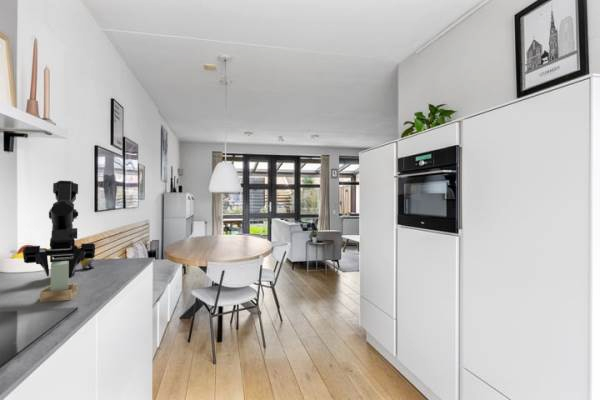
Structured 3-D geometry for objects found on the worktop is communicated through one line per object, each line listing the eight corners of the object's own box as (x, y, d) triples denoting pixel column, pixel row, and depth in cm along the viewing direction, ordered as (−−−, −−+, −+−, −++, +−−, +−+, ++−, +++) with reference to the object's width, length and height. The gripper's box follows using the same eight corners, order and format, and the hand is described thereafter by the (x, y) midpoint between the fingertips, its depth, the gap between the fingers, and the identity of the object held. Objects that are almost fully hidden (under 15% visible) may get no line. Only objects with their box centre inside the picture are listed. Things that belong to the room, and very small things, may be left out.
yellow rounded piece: (89, 271, 137) (70, 255, 135) (88, 274, 141) (69, 259, 139) (100, 262, 141) (81, 247, 139) (98, 265, 145) (80, 250, 143)
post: (50, 300, 98) (50, 265, 98) (51, 296, 102) (51, 261, 102) (67, 298, 101) (68, 263, 101) (68, 294, 105) (68, 260, 104)
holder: (40, 302, 96) (40, 292, 96) (48, 294, 104) (48, 285, 104) (71, 299, 100) (71, 290, 100) (77, 292, 107) (77, 283, 107)
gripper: (24, 220, 99) (18, 262, 90) (95, 219, 110) (96, 257, 101) (27, 242, 106) (21, 283, 97) (94, 239, 116) (94, 276, 108)
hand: (59, 274), depth 100 cm, fingers open, 6 cm apart
